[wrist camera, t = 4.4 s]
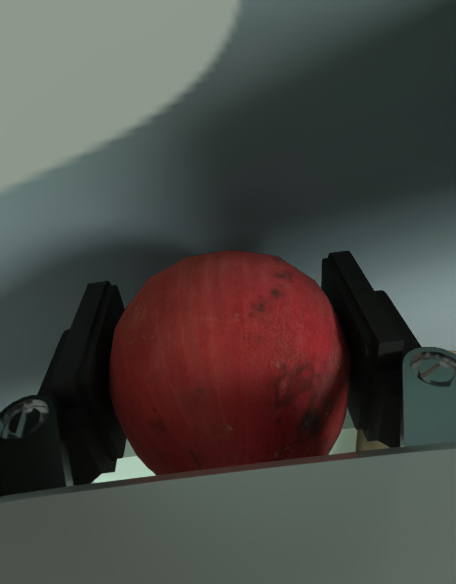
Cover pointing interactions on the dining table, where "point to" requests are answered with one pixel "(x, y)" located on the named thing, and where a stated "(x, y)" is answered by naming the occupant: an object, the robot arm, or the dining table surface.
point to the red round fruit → (229, 365)
